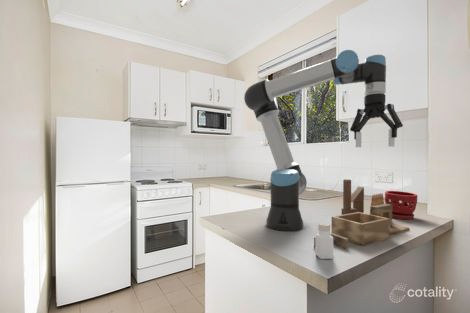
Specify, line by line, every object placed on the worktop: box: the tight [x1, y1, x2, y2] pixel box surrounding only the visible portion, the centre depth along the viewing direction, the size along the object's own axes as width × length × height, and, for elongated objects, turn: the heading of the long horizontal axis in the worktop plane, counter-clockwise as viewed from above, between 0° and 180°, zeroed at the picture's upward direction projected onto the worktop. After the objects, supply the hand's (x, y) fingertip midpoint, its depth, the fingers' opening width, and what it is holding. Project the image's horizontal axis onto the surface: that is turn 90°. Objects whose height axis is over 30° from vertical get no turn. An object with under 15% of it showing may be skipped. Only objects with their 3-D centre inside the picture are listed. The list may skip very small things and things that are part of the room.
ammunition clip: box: [369, 192, 385, 217], centre depth 114 cm, size 11×2×12 cm, turn 125°
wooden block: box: [341, 179, 365, 215], centre depth 121 cm, size 4×11×18 cm, turn 109°
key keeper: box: [313, 232, 349, 250], centre depth 78 cm, size 6×9×3 cm
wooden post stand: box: [369, 203, 410, 237], centre depth 99 cm, size 13×17×10 cm
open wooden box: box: [331, 212, 391, 247], centre depth 89 cm, size 12×16×7 cm
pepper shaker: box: [314, 222, 334, 260], centre depth 71 cm, size 4×4×10 cm
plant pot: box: [384, 190, 418, 220], centre depth 119 cm, size 13×13×12 cm
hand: (373, 147), depth 100 cm, fingers open, 13 cm apart
